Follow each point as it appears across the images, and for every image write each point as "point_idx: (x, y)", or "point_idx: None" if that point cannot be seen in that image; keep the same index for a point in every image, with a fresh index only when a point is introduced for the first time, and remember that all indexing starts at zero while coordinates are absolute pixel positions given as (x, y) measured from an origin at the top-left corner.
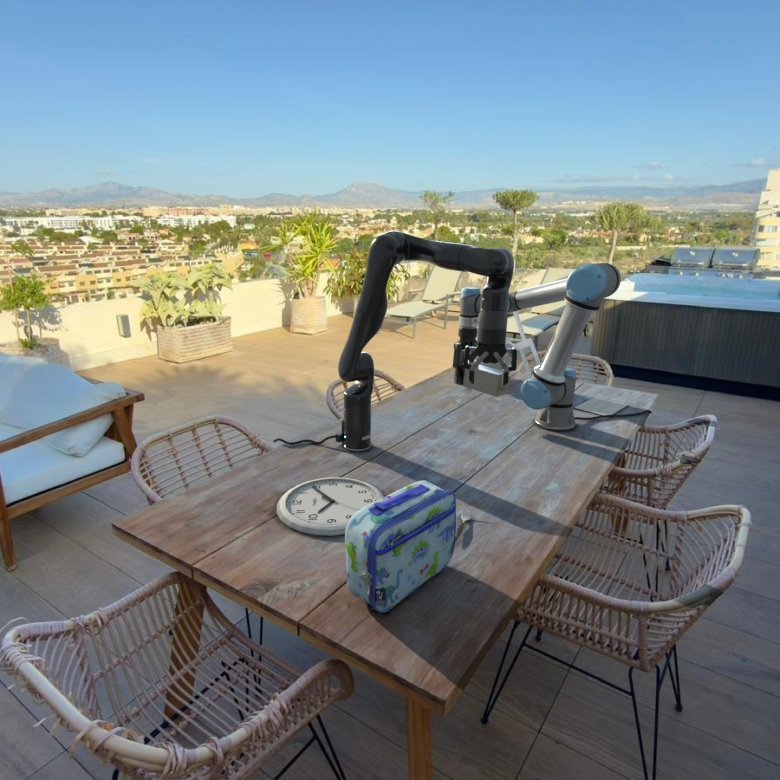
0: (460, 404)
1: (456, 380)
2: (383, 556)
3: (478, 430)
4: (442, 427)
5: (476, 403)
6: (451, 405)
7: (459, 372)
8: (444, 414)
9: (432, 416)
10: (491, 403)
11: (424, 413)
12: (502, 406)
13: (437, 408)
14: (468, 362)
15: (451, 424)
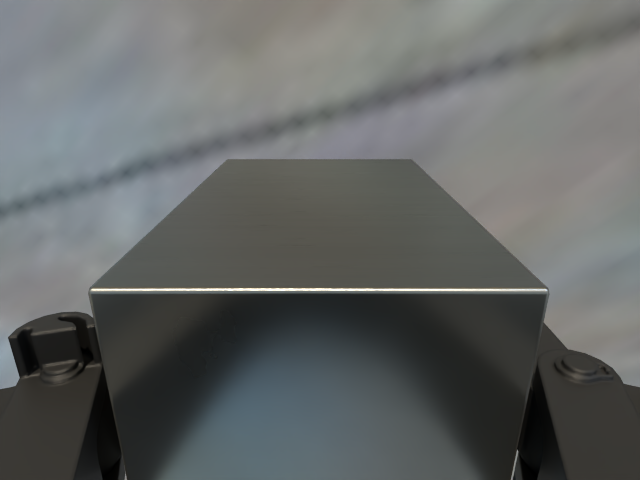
0: (421, 64)
1: None
2: None
3: None
4: (4, 299)
5: (533, 129)
6: (345, 33)
7: None
8: (157, 149)
9: (55, 125)
10: (609, 199)
11: (35, 35)
12: (599, 282)
13: (199, 13)
14: (447, 469)
15: (82, 298)
